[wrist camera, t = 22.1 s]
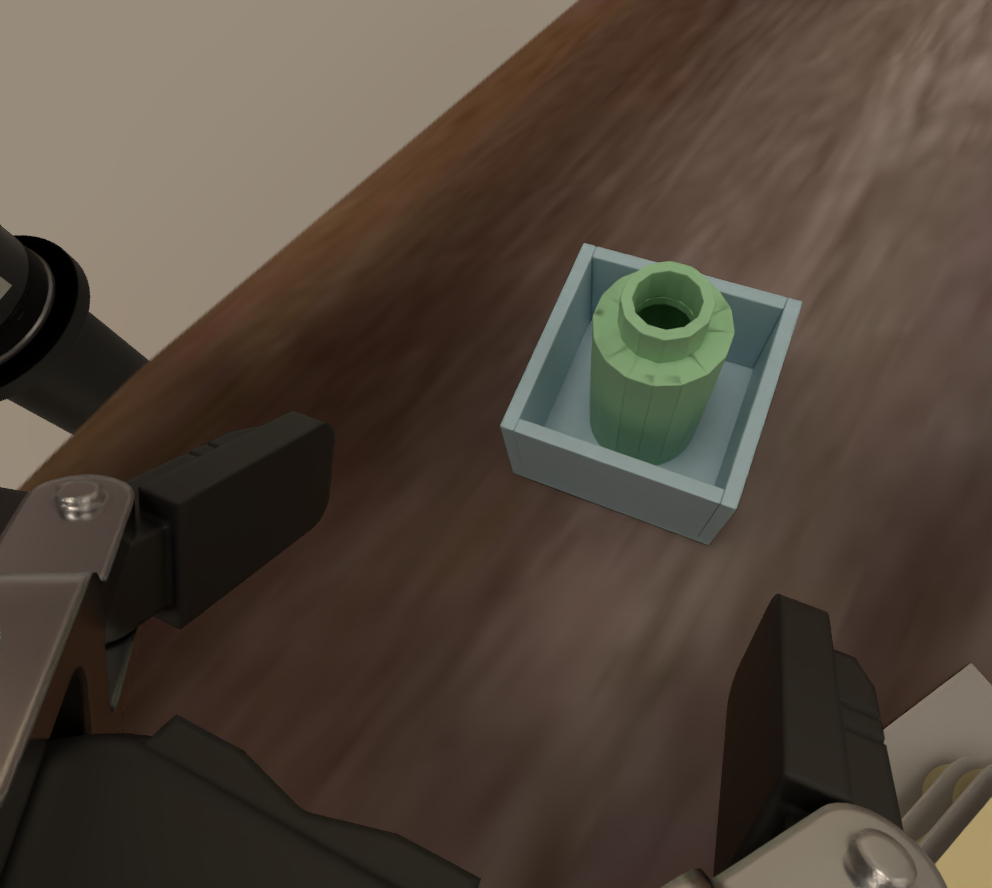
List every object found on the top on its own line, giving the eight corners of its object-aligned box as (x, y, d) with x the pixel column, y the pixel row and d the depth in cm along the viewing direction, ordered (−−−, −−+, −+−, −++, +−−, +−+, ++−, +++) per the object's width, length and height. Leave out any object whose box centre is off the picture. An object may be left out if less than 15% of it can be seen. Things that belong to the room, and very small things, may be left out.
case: (512, 473, 31) (499, 425, 26) (582, 313, 33) (583, 242, 28) (708, 545, 28) (736, 509, 23) (767, 367, 31) (803, 300, 26)
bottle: (574, 445, 30) (572, 338, 22) (610, 359, 32) (622, 225, 23) (677, 481, 29) (718, 382, 20) (709, 389, 31) (761, 261, 22)
